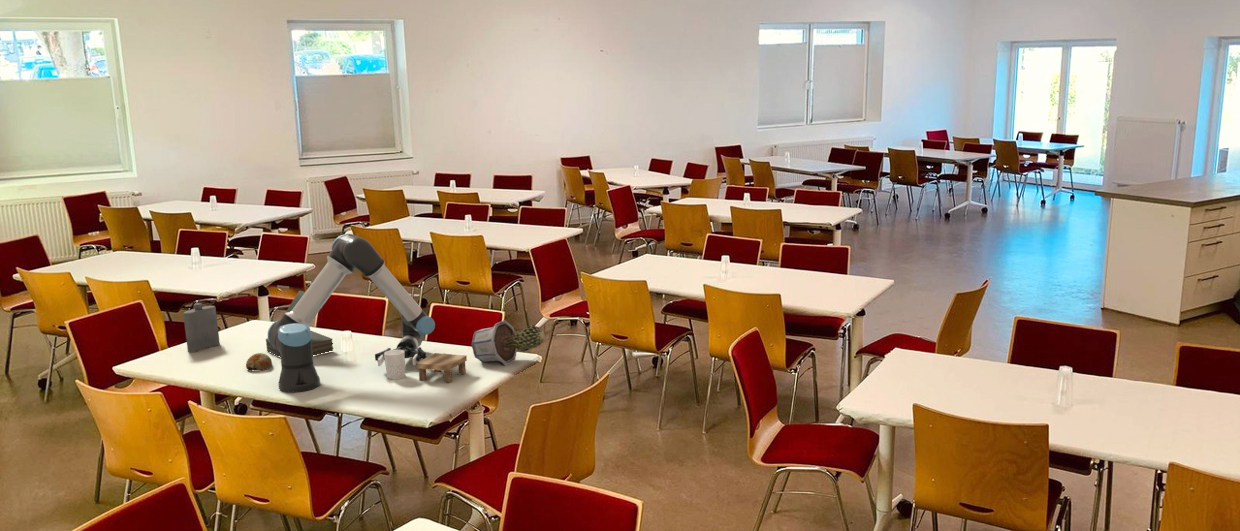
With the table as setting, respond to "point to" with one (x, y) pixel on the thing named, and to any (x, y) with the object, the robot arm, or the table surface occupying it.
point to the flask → (201, 327)
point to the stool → (442, 365)
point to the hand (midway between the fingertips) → (396, 362)
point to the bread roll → (258, 362)
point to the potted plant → (504, 342)
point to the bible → (318, 341)
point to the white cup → (395, 363)
